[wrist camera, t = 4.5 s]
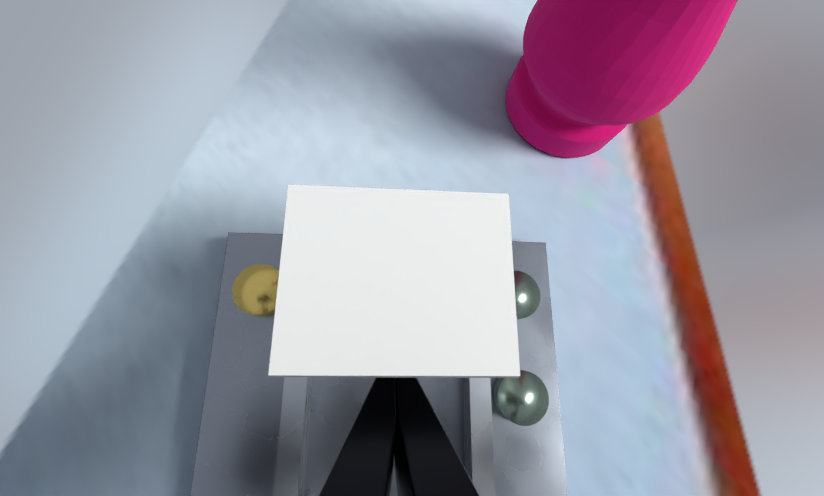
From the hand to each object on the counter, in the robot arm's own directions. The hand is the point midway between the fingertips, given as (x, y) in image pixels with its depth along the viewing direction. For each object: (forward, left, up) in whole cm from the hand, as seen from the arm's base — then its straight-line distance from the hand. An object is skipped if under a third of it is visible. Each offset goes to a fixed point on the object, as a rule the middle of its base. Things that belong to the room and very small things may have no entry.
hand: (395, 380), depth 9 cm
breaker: (+2, 0, -5) cm, 6 cm away
